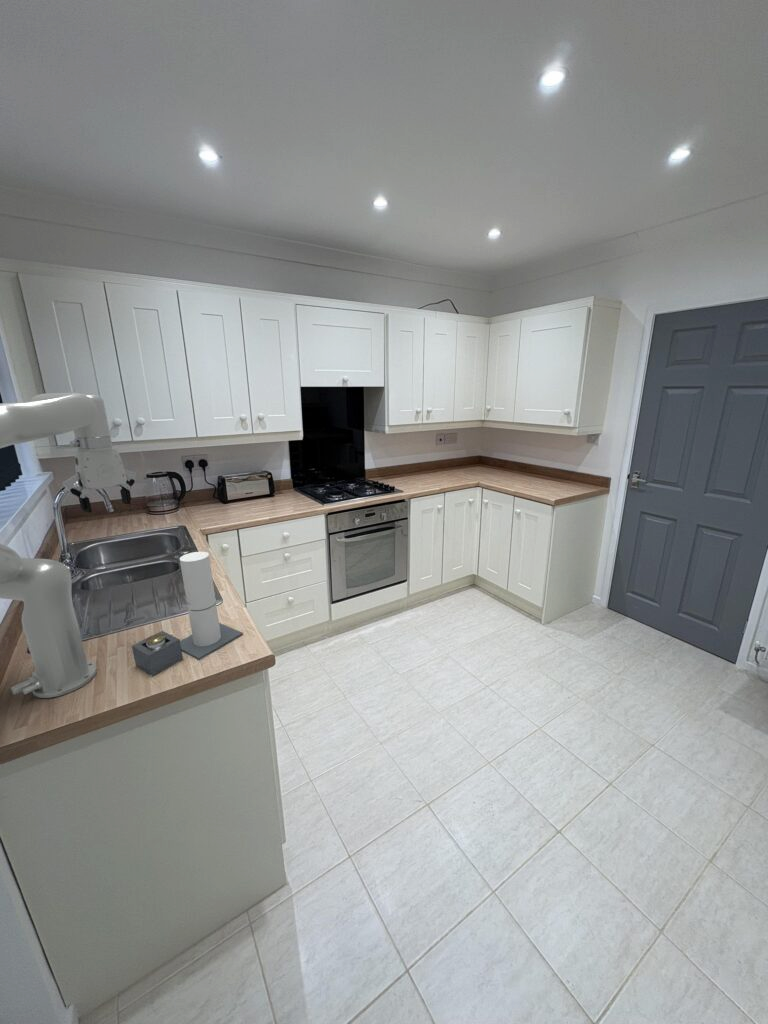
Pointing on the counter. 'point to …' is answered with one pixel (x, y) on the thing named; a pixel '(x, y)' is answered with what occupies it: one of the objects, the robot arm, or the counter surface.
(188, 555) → the cylindrical container
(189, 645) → the rubber mat
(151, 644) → the plunger
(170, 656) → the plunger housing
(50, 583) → the robot arm
